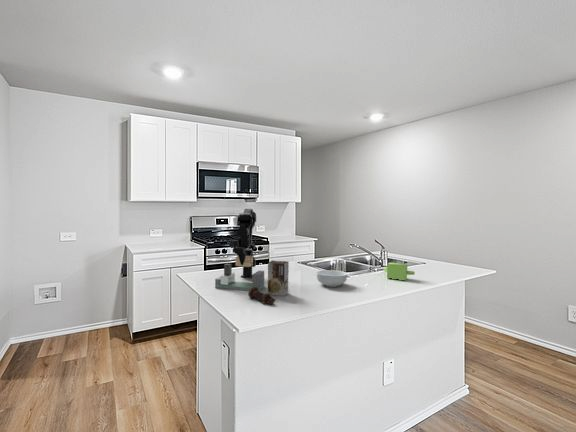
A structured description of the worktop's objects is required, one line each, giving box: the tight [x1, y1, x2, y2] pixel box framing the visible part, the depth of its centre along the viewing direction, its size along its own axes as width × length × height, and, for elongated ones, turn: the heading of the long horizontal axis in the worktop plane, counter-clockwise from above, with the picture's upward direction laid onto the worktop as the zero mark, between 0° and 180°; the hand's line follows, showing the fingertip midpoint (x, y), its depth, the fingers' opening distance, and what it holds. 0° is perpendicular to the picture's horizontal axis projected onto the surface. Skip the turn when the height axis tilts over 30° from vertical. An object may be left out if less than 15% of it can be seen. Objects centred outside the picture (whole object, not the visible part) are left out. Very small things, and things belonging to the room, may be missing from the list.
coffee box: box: [267, 260, 289, 297], centre depth 163 cm, size 9×6×16 cm
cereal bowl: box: [316, 269, 348, 288], centre depth 182 cm, size 17×17×7 cm
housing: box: [235, 255, 254, 268], centre depth 182 cm, size 6×8×5 cm
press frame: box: [214, 270, 265, 291], centre depth 174 cm, size 10×24×8 cm, turn 76°
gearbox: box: [383, 262, 416, 281], centre depth 199 cm, size 18×10×10 cm, turn 62°
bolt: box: [248, 287, 276, 305], centre depth 151 cm, size 6×5×15 cm
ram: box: [220, 263, 236, 285], centre depth 176 cm, size 9×4×10 cm, turn 166°
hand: (244, 263), depth 182 cm, fingers closed on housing, 6 cm apart
